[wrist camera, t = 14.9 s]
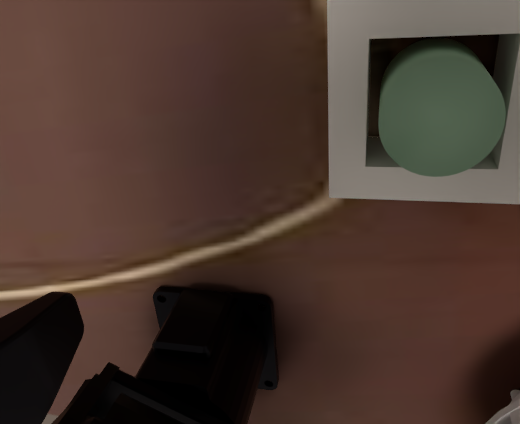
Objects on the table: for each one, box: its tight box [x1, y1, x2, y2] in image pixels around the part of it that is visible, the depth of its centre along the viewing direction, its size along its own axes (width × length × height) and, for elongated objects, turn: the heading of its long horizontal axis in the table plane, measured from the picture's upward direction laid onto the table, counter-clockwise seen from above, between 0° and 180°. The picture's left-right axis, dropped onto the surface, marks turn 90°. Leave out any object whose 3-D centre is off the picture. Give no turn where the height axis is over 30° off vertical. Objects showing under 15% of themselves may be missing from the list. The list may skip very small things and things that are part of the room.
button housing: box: [327, 0, 520, 204], centre depth 17 cm, size 7×7×3 cm
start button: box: [378, 38, 506, 177], centre depth 16 cm, size 4×4×4 cm
